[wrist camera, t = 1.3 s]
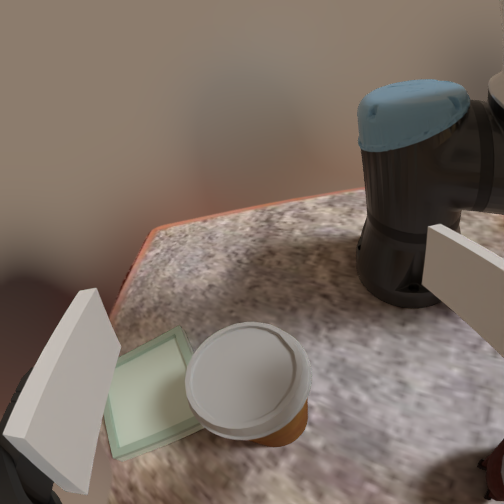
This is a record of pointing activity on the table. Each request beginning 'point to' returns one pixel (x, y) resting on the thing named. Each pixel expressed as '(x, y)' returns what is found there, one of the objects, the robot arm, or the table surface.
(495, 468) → the mate gourd
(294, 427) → the disposable coffee cup
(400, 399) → the table surface
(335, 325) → the table surface
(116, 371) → the coaster plate
